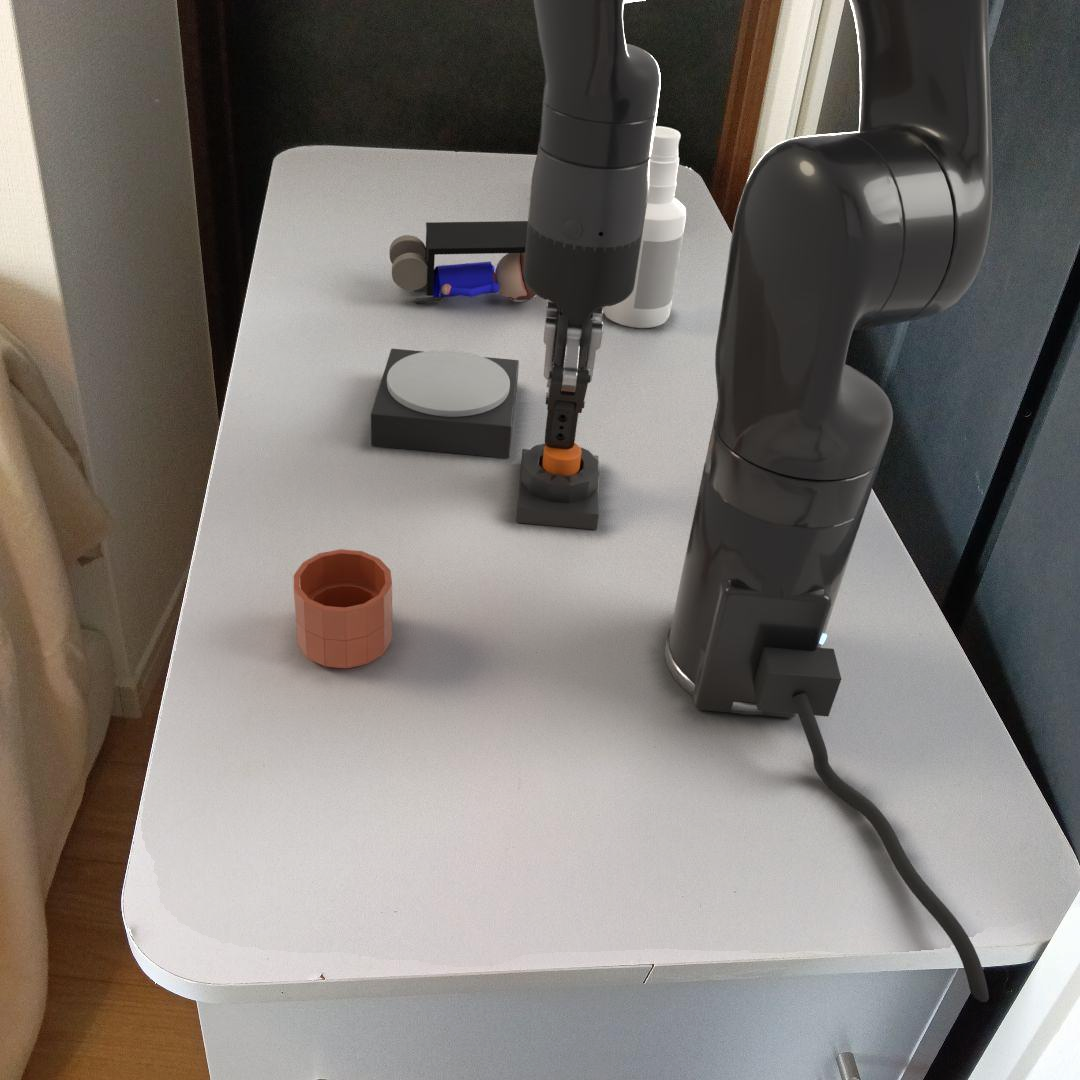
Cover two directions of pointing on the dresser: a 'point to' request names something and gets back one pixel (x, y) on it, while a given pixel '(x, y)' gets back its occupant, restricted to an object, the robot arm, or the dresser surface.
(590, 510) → the dark grey squat piece
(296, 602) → the orange cup
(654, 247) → the white bottle
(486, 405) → the scale
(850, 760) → the dresser surface
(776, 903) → the dresser surface
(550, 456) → the button
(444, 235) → the figurine character
